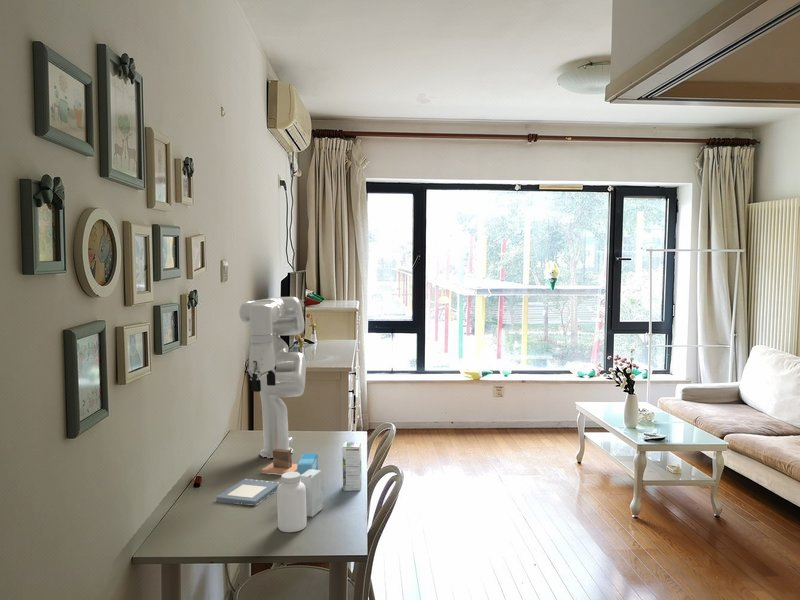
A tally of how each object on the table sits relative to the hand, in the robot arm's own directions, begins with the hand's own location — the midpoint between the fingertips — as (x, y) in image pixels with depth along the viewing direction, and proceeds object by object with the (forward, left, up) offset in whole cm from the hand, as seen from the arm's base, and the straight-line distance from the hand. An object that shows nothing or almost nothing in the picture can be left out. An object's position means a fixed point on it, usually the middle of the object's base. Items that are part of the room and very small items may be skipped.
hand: (264, 388), depth 211 cm
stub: (-3, +4, -30) cm, 31 cm away
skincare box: (+26, +30, -31) cm, 50 cm away
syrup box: (+5, +34, -31) cm, 46 cm away
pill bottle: (+36, +29, -31) cm, 55 cm away
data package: (+14, +23, -31) cm, 41 cm away
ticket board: (+18, +4, -30) cm, 35 cm away
